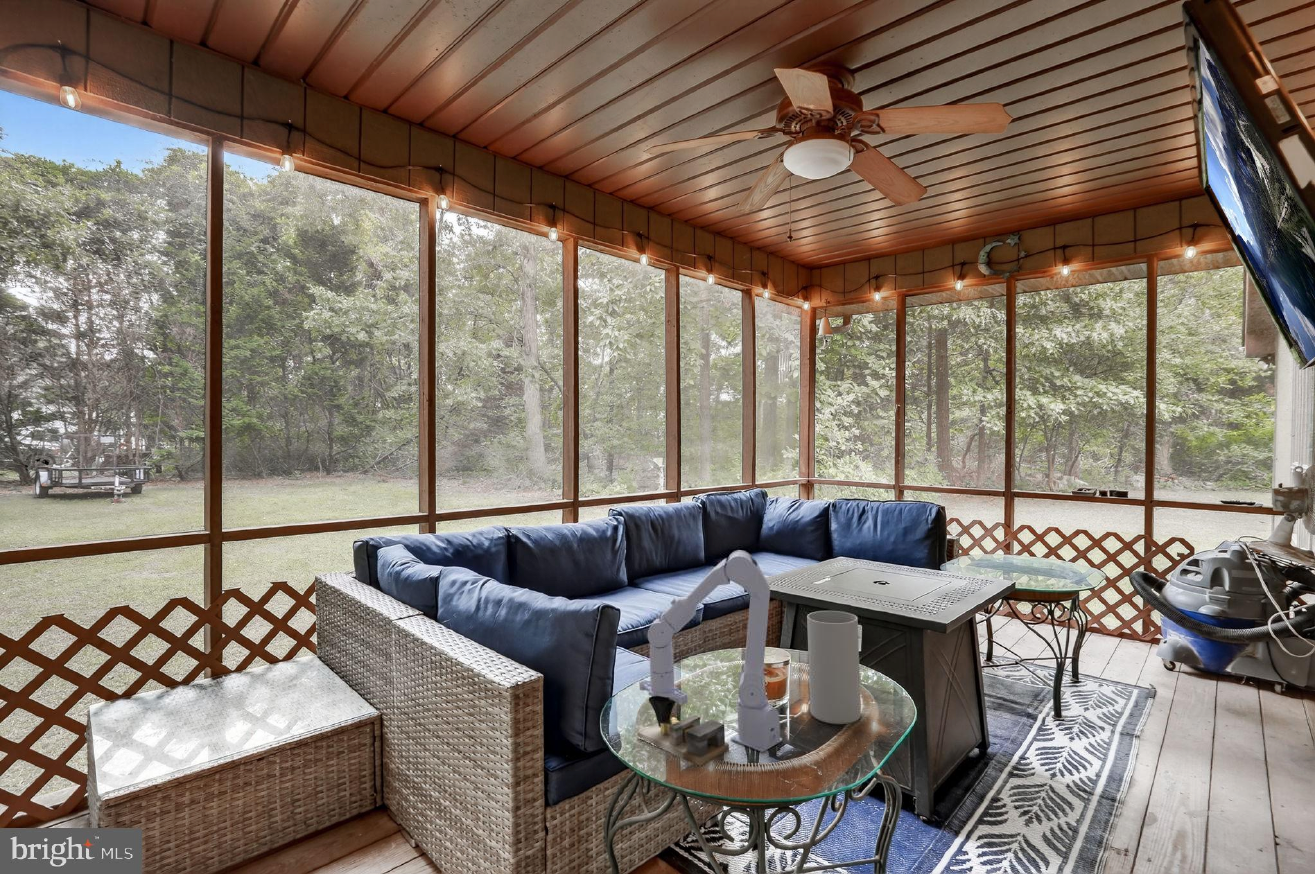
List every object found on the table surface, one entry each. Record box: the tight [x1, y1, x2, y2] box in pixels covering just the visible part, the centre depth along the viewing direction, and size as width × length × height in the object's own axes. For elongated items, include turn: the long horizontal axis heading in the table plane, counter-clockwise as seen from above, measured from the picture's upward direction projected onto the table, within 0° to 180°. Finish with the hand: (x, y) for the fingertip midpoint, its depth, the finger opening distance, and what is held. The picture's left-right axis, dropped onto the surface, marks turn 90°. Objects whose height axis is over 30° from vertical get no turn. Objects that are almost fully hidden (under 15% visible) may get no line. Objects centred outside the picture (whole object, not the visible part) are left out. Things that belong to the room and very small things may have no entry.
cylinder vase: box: [806, 610, 862, 725], centre depth 164 cm, size 12×12×25 cm
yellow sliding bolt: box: [660, 716, 709, 744], centre depth 150 cm, size 12×4×2 cm, turn 44°
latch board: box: [637, 714, 730, 767], centre depth 151 cm, size 20×10×6 cm, turn 44°
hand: (663, 726), depth 155 cm, fingers closed
